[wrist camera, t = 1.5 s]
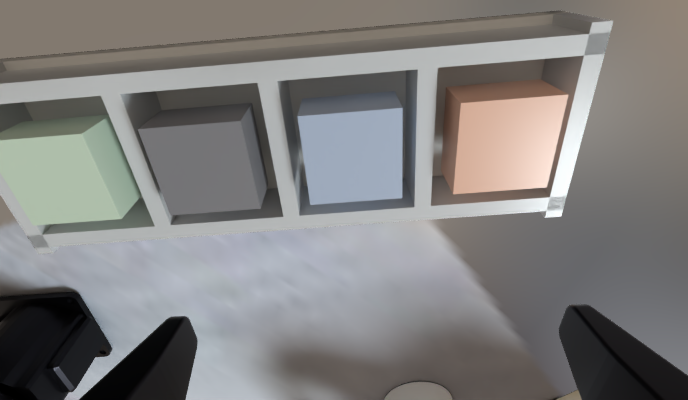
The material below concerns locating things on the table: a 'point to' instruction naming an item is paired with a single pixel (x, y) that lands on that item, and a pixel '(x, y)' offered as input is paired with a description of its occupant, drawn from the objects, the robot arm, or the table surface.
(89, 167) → the key sage
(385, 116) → the key blue
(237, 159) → the key charcoal
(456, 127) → the key terracotta
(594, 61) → the keypad
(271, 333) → the table surface
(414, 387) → the mug
